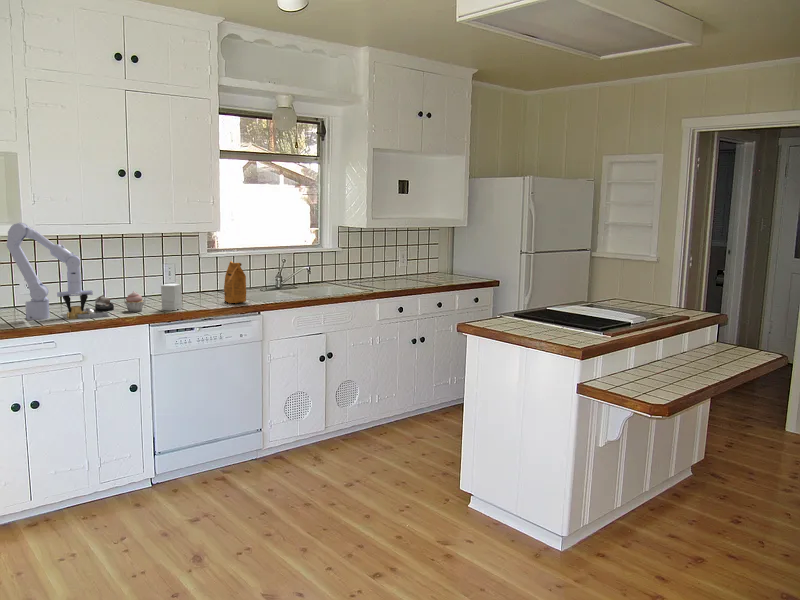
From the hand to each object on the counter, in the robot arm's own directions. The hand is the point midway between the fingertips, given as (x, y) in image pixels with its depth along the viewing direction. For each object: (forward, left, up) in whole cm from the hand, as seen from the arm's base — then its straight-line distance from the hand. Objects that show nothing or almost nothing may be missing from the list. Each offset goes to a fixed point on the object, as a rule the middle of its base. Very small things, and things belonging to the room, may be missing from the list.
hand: (76, 311), depth 311 cm
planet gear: (0, 0, -2) cm, 2 cm away
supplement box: (+45, +5, -4) cm, 45 cm away
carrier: (+4, 0, -3) cm, 5 cm away
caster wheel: (+16, +14, -4) cm, 22 cm away
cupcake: (+28, +9, -3) cm, 30 cm away
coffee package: (+81, +12, -3) cm, 82 cm away
